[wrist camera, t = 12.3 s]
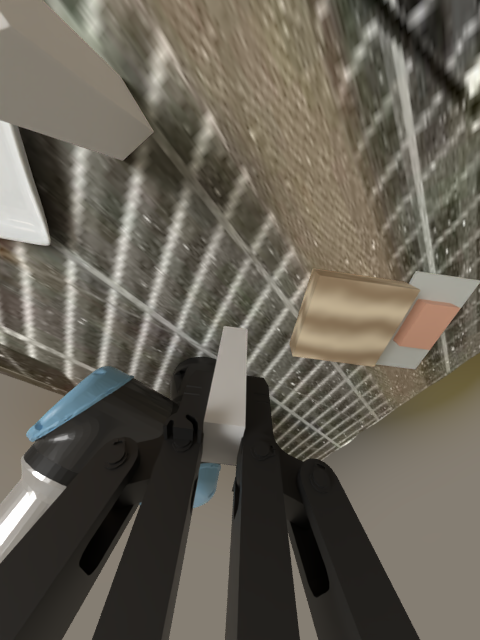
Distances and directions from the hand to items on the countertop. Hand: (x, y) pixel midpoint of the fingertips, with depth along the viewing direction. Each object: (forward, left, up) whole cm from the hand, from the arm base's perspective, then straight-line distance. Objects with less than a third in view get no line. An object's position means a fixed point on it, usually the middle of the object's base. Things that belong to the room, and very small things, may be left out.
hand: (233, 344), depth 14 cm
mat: (-8, -34, -24) cm, 43 cm away
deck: (-8, -20, -24) cm, 33 cm away
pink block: (-7, -35, -22) cm, 42 cm away
